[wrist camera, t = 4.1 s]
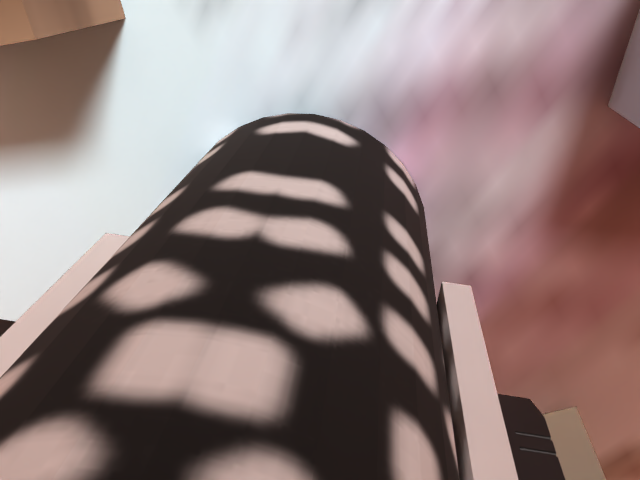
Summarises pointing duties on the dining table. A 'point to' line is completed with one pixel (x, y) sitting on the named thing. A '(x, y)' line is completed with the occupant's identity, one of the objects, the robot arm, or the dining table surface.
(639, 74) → the dusty blue block
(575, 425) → the sage block
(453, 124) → the dining table surface
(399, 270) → the spotted tube
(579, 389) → the dining table surface
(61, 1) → the walnut block
